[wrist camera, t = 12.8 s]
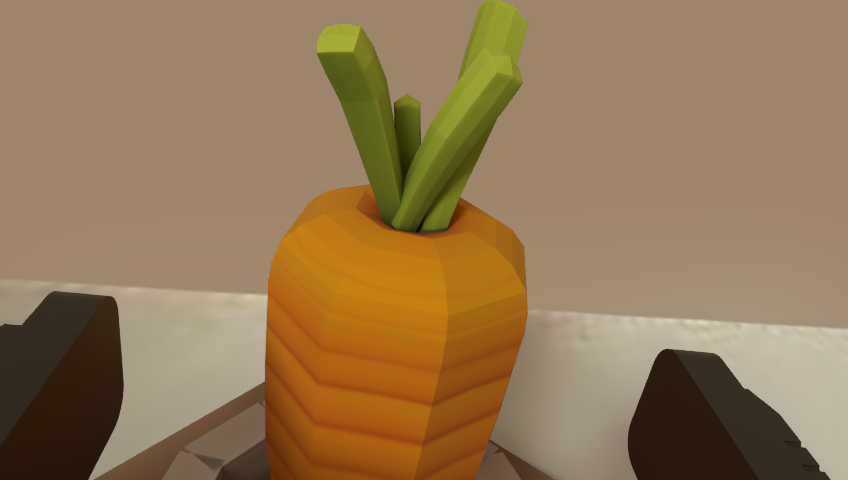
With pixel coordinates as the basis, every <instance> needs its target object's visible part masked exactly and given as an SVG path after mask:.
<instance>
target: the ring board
mask: <svg viewBox="0 0 848 480" xmlns="http://www.w3.org/2000/svg"><path fill="white" fill-rule="evenodd" d="M94 480H271V474H270V467H269V461H268V454H267V448H266V441H265V382H263V383H262V384H260V385H258V386H256V387H255V388H253V389H251V390H249V391H248V392H246V393H244V394H242V395H241V396H239V397H237V398H235V399H234V400H232V401H230V402H229V403H227V404H225V405H223V406H222V407H220V408H218V409H216V410H215V411H213V412H211V413H209V414H208V415H206V416H204V417H202V418H201V419H199V420H197V421H195V422H194V423H192V424H190V425H188V426H187V427H185V428H183V429H181V430H180V431H178V432H176V433H174V434H173V435H171V436H169V437H168V438H166V439H164V440H162V441H161V442H159V443H157V444H155V445H154V446H152V447H150V448H148V449H147V450H145V451H143V452H141V453H140V454H138V455H136V456H134V457H133V458H131V459H129V460H127V461H126V462H124V463H122V464H120V465H119V466H117V467H115V468H113V469H112V470H110V471H108V472H106V473H105V474H103V475H101V476H100V477H98V478H96V479H94ZM475 480H554V479H552V478H550V477H549V476H547V475H545V474H544V473H542V472H541V471H539V470H537V469H536V468H534V467H533V466H531V465H529V464H528V463H526V462H525V461H523V460H521V459H520V458H518V457H517V456H515V455H513V454H512V453H510V452H509V451H507V450H505V449H504V448H502V447H501V446H499V445H497V444H496V443H494V442H493V441H491V440H489V442H488V445H487V447H486V450H485V453H484V456H483V458H482V461H481V464H480V467H479V469H478V472H477V475H476V478H475Z"/></svg>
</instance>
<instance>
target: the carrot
mask: <svg viewBox="0 0 848 480" xmlns="http://www.w3.org/2000/svg"><path fill="white" fill-rule="evenodd" d="M527 26H528V23H527V22H526V20H525V19H524V18H523V17H522V15H521V14H520V13H519V12H518V10H517V9H516V8H515V7H514V6H512V5H511V4H509V3H507V2H503V1H499V0H486V1H485V2H484V3H483V4H482V5H481V6H480V7H479V10H478V14H477V17H476V20H475V23H474V26H473V29H472V33H471V35H470V39H469V42H468V45H467V48H466V51H465V56H464V59H463V63H462V67H461V70H460V74H459V78H458V81H457V84H456V86H455V87H454V89H453V90H452V92H451V93H450V95H449V96H448V98H447V100H446V101H445V103H444V104H443V106H442V107H441V109H440V111H439V112H438V114H437V115H436V116H435V118H434V120H433V121H432V123H431V125H430V127H429V129H428V131H427V133H426V135H425V137H424V139H423V141H422V143H421V131H420V102H419V101H418V100H416V99H414V98H413V97H411V96H409V95H408V94H406V95H405V96H403V97H402V98H400V99H399V100H397V101H396V102H395V103H394V117H395V118H394V119H393V113H392V108H391V102H390V97H389V91H388V86H387V80H386V77H385V74H384V72H383V69H382V67H381V64H380V61H379V59H378V56H377V54H376V51H375V49H374V46H373V44H372V43H371V41H370V40H369V38H368V37H367V35H366V33H365V32H364V30H363V29H362V27H361V26H355V25H348V24H338V25H334V26H330V27H326V28H325V29H324V30H323V31H322V33H321V35H320V36H319V38H318V43H317V52H316V53H317V55H318V57H319V60H320V62H321V64H322V66H323V68H324V70H325V73H326V74H327V77H328V79H329V80H330V82H331V84H332V86H333V88H334V90H335V92H336V94H337V96H338V98H339V100H340V102H341V105H342V107H343V110H344V113H345V116H346V118H347V121H348V124H349V126H350V129H351V132H352V134H353V137H354V140H355V143H356V145H357V148H358V151H359V154H360V156H361V159H362V162H363V165H364V168H365V170H366V173H367V176H368V179H369V182H370V185H364V186H356V187H350V188H341V189H336V190H331V191H327V192H324V193H322V194H321V195H319V196H318V197H317V198H315V199H314V200H312V201H311V202H309V203H308V205H307V206H306V208H305V209H304V210H303V212H302V213H301V214H300V216H299V217H298V218H297V220H296V221H295V222H294V224H293V225H292V226H291V228H290V229H289V231H288V232H287V233H286V235H285V236H284V237H283V239H282V240H281V242H280V244H279V246H278V249H277V251H276V253H275V256H274V258H273V260H272V264H271V270H270V275H269V280H268V304H267V330H266V356H265V441H266V448H267V454H268V461H269V467H270V474H271V480H475V478H476V475H477V472H478V469H479V467H480V464H481V461H482V458H483V456H484V453H485V450H486V447H487V445H488V442H489V439H490V436H491V433H492V431H493V428H494V425H495V422H496V420H497V417H498V414H499V411H500V408H501V405H502V401H503V398H504V395H505V392H506V389H507V386H508V383H509V380H510V376H511V373H512V370H513V367H514V364H515V361H516V358H517V354H518V351H519V348H520V345H521V342H522V339H523V336H524V332H525V325H526V319H527V291H526V273H525V256H524V246H523V244H522V243H521V242H520V240H519V239H518V237H517V236H516V235H515V233H514V232H513V230H511V229H510V228H509V227H507V226H506V225H504V224H502V223H501V222H499V221H498V220H496V219H495V218H493V217H491V216H490V215H488V214H486V213H485V212H483V211H482V210H480V209H478V208H477V207H475V206H474V205H472V204H470V203H468V202H467V201H465V200H464V199H462V198H460V195H461V193H462V191H463V189H464V187H465V185H466V183H467V180H468V179H469V176H470V175H471V173H472V171H473V168H474V166H475V164H476V162H477V160H478V158H479V156H480V154H481V152H482V149H483V148H484V145H485V143H486V141H487V139H488V137H489V135H490V133H491V131H492V128H493V126H494V124H495V122H496V120H497V118H498V116H499V115H500V114H501V113H502V111H503V110H504V109H505V107H506V106H507V105H508V103H509V102H510V100H511V99H512V98H513V96H514V95H515V93H516V92H517V91H518V89H519V88H520V86H521V85H522V84H523V83H522V78H521V74H520V70H519V68H518V67H517V62H518V58H519V55H520V51H521V47H522V44H523V40H524V37H525V33H526V30H527ZM394 121H395V124H394Z"/></svg>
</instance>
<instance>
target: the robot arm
mask: <svg viewBox="0 0 848 480" xmlns="http://www.w3.org/2000/svg"><path fill="white" fill-rule="evenodd" d="M123 388H124V383H123V368H122V355H121V342H120V328H119V315H118V307H117V303H116V301H115V299H114V298H113V297H111V296H101V295H91V294H80V293H69V292H58V291H54V292H52V293H50V294H49V295H48V296H47V297H46V298H45V299H44V300H43V301H42V302H41V303H40V305H39V306H38V307H37V308H36V309H35V310H34V312H33V313H32V314H31V315H30V316H29V317H28V319H27V320H26V321H25V322H24V323H23V324H22V325H10V324H4V325H2V326H0V480H88V479H89V477H90V475H91V473H92V471H93V469H94V467H95V465H96V463H97V461H98V459H99V457H100V455H101V453H102V452H103V450H104V448H105V446H106V444H107V442H108V440H109V438H110V436H111V434H112V432H113V430H114V428H115V426H116V423H117V420H118V417H119V414H120V410H121V405H122V399H123ZM628 452H629V458H630V462H631V465H632V467H633V470H634V472H635V474H636V477H637V479H638V480H830V478H829V477H828V476H827V475H826V473H825V472H820V470H819V464H818V463H817V462H816V460H815V459H814V458H813V457H812V455H811V454H810V453H809V451H808V450H807V449H806V448H802V447H801V441H800V440H799V439H798V437H797V436H796V435H795V434H794V432H793V431H792V430H791V428H790V427H789V426H788V425H787V423H786V422H785V421H784V419H783V418H782V417H781V416H780V414H779V413H777V412H776V411H775V410H774V409H772V408H771V407H770V406H769V405H767V404H766V403H765V402H764V401H762V400H761V399H760V398H758V397H757V396H756V395H755V394H753V393H752V392H751V391H750V390H748V389H744V388H743V387H742V385H741V384H740V383H739V381H738V380H737V379H736V377H735V376H734V375H733V373H732V372H731V371H730V369H729V368H728V367H727V365H726V364H725V363H724V361H723V360H722V359H721V358H720V357H719V356H718V355H716V354H714V353H706V352H695V351H684V350H673V349H665V350H663V351H661V352H660V353H659V354H658V356H657V357H656V359H655V361H654V364H653V366H652V369H651V372H650V374H649V377H648V379H647V382H646V385H645V387H644V390H643V392H642V395H641V398H640V400H639V403H638V405H637V408H636V411H635V413H634V416H633V418H632V421H631V424H630V428H629V433H628Z"/></svg>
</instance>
